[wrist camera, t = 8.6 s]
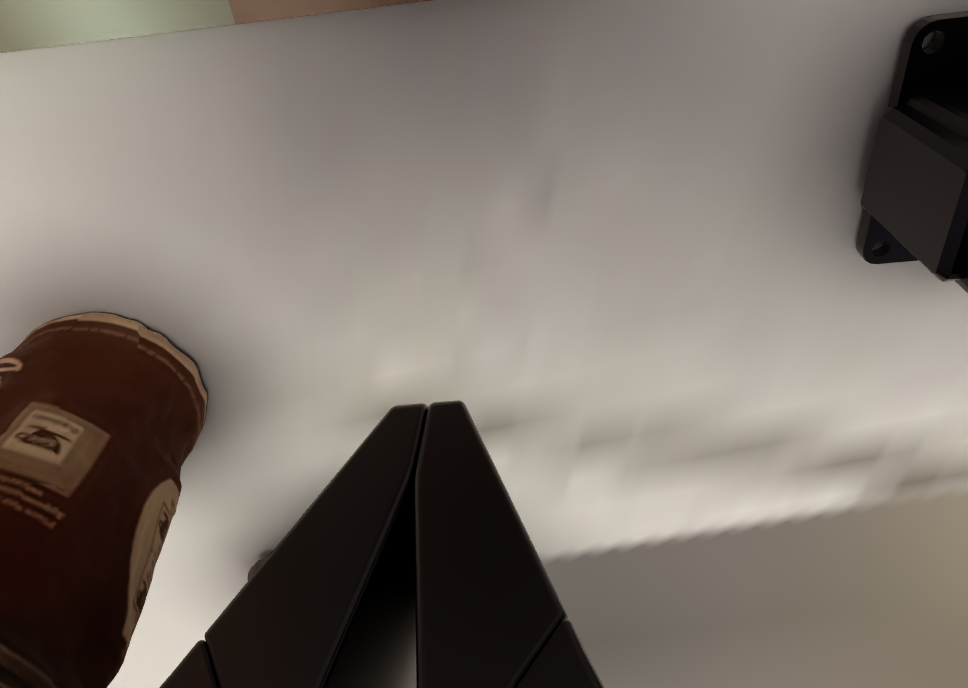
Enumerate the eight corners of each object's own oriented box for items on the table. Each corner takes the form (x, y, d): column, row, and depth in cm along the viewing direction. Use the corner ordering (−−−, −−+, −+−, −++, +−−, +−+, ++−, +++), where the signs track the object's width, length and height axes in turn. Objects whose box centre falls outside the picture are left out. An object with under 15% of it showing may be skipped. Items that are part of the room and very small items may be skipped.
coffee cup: (298, 406, 24) (145, 845, 13) (158, 507, 27) (-56, 926, 16) (73, 232, 20) (-397, 652, 9) (-60, 373, 23) (-524, 807, 13)
